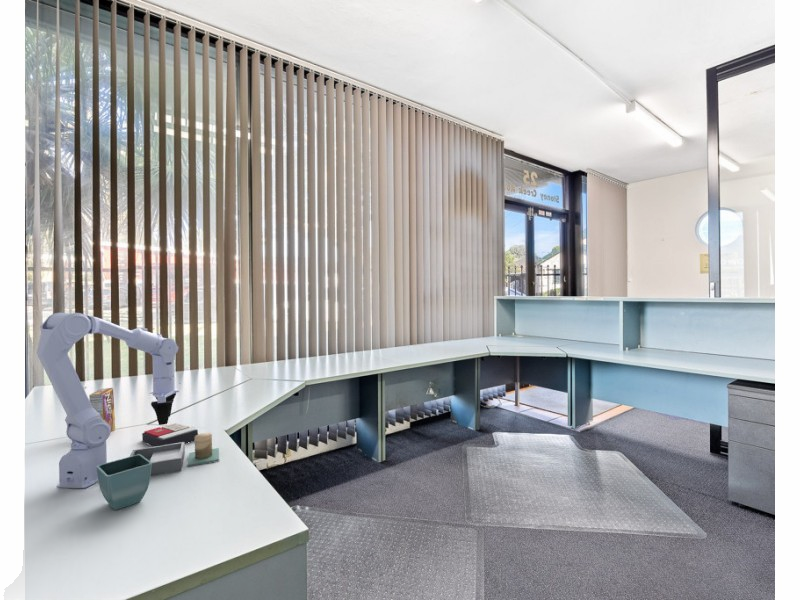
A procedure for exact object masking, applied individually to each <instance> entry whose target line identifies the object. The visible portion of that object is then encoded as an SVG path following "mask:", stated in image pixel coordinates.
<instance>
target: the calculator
mask: <svg viewBox="0 0 800 600" xmlns="http://www.w3.org/2000/svg"><path fill="white" fill-rule="evenodd" d="M198 431H199V430H198V429H196V428H195V427H194V428H193V427H190V426H188V425H184V424H181V423H177V422H174V423H171V424H165V425H161V427H155V428H151V429H148V430H144V432H142V433H141V436H142V437H141V438H142V442H143V443H145V444H147V445H150V446H151V447H155V446H162V445H168V444H174V443H181V442H185V445H186V443H187V444H189V443H188V442H190V443H192V442H191V441H193V442H195V441H194V440H195V436H196V435H198V433H199V432H198Z"/></svg>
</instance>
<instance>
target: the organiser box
mask: <svg viewBox="0 0 800 600" xmlns="http://www.w3.org/2000/svg"><path fill="white" fill-rule="evenodd" d="M185 445H186V444H185V442H181V443H174V444H168V445H162V446H151V447H150V446H149V447H144V448H136V449H132V451H131V453H130V455H129V457H130V456H134V455H138V454H140V455H142V456H143V457H144V458H146V459H147V460H149V461H150V462H152V468H151V475H150V478H151V477H155V476H160V475H166V474H172V473H177V472H182V470H183V464H184V459H185V453H186V449H185V448H186V447H185Z"/></svg>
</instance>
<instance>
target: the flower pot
mask: <svg viewBox="0 0 800 600" xmlns="http://www.w3.org/2000/svg"><path fill="white" fill-rule="evenodd" d="M96 468H97V475H98V481H97V482H98V486H99V490H100V492H101V495H102V496H103V498H104V499H105V501H106V502H107V503H108V505H109V506H110V507H111V508H112V509H113V510H114V511H117V510H120V509H122V508H125V507H128V506H131V505H134V504H137V503H140V502H141V501H142V500H143V498H144V496H145V494H146V493H147V491H148V488H149V485H150V481H151V477H150V475H151V468H152V462H150V461H149V460H147V459H146V458H144V457H143V456H142V455H140V454H138V455H134V456H130V455H129V456H127V457H124V458H120V459H116V460H112V461H109V462H107V463H105V464H101V465H98V466H97V467H96Z"/></svg>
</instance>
